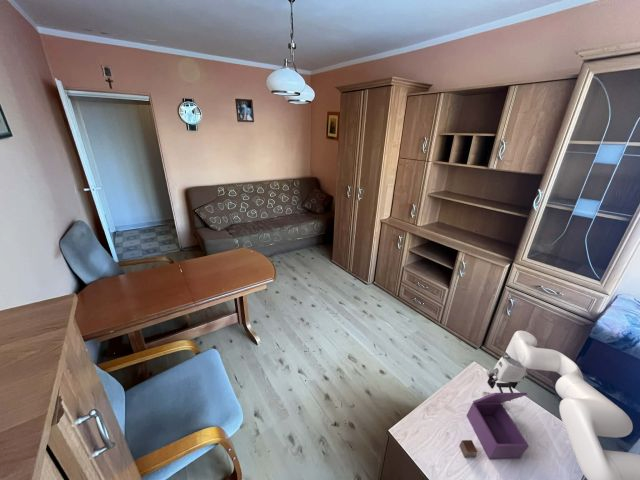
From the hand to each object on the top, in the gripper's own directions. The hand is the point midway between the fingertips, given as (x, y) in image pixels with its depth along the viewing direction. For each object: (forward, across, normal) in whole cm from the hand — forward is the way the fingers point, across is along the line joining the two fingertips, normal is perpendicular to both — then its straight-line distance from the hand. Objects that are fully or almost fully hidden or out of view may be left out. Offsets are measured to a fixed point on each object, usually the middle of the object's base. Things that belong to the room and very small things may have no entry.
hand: (500, 385), depth 115 cm
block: (+25, -15, -13) cm, 32 cm away
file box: (+25, 0, -7) cm, 26 cm away
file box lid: (+6, 0, -2) cm, 7 cm away
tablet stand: (+25, +11, +8) cm, 29 cm away
